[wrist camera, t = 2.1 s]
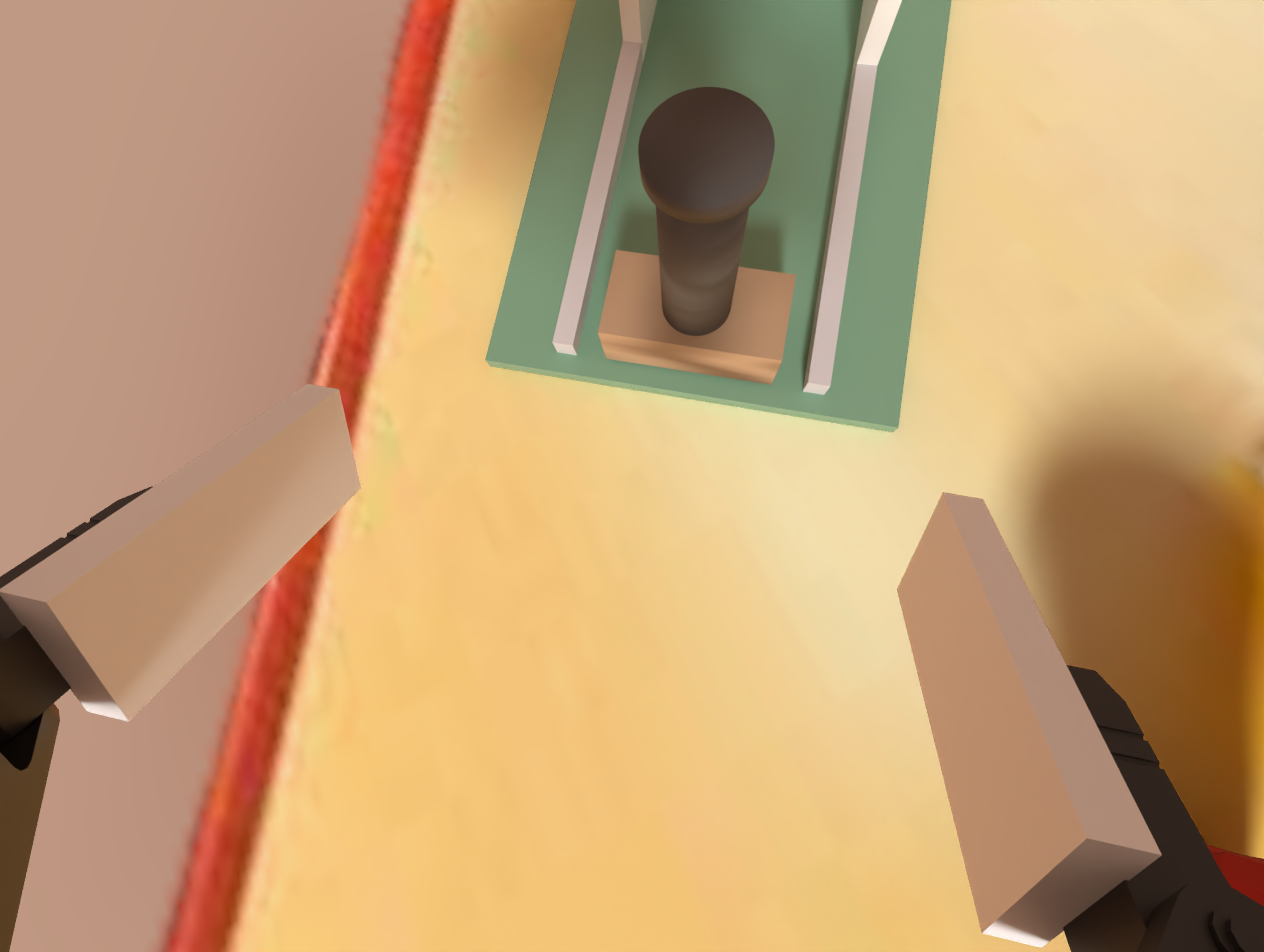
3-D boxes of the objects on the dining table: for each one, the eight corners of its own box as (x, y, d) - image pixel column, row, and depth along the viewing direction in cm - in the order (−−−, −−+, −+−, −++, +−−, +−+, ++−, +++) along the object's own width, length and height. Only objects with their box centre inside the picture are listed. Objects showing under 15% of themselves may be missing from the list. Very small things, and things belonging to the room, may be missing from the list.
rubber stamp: (784, 306, 29) (860, 98, 16) (771, 384, 28) (841, 227, 16) (622, 283, 30) (582, 69, 17) (606, 358, 29) (552, 191, 17)
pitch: (949, -21, 32) (966, -60, 31) (891, 432, 28) (907, 420, 26) (594, -49, 35) (589, -88, 33) (490, 366, 30) (477, 350, 28)
